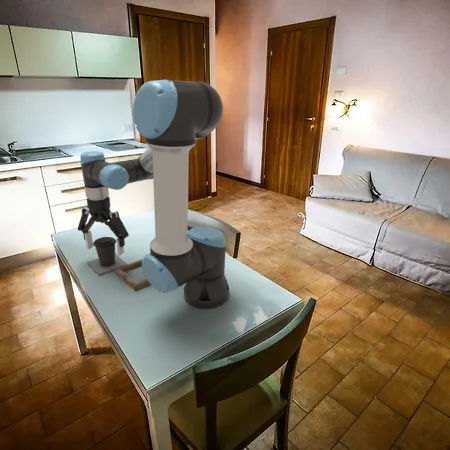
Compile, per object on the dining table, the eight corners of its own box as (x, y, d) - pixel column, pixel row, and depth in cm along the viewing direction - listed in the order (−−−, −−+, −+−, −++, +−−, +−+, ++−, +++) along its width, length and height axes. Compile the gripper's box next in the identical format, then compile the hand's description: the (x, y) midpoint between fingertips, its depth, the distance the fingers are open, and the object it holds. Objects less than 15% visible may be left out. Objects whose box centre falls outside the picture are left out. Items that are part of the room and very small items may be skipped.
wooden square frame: (171, 276, 116) (170, 270, 115) (135, 291, 107) (134, 284, 106) (150, 260, 125) (150, 254, 124) (116, 273, 116) (115, 267, 115)
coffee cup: (105, 256, 126) (102, 233, 122) (123, 259, 124) (120, 236, 120) (91, 266, 119) (87, 242, 115) (110, 270, 117) (106, 246, 113)
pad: (127, 265, 121) (127, 263, 121) (99, 275, 115) (98, 273, 114) (114, 254, 129) (114, 253, 129) (87, 263, 122) (87, 262, 122)
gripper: (135, 198, 111) (140, 251, 119) (76, 189, 117) (84, 241, 126) (122, 205, 104) (128, 261, 113) (60, 195, 111) (70, 249, 119)
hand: (105, 250), depth 119 cm, fingers open, 13 cm apart
